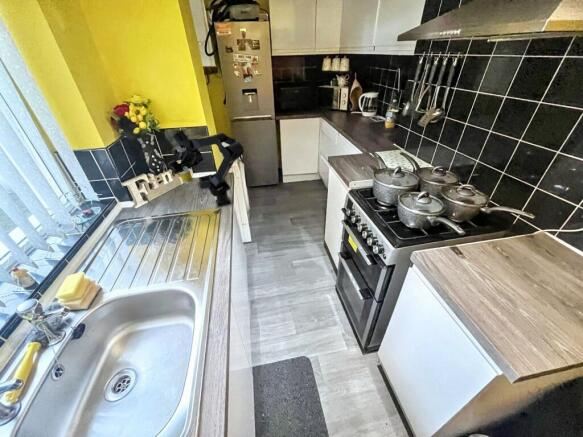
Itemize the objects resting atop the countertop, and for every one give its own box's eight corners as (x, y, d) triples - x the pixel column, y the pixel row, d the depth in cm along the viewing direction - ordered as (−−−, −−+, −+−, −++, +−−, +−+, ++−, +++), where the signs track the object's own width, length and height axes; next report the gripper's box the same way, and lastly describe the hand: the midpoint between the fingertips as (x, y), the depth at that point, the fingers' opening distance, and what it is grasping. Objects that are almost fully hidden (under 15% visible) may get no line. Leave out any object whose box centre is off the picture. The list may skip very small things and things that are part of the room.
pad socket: (216, 184, 147) (214, 179, 145) (202, 188, 144) (201, 182, 142) (213, 179, 153) (212, 174, 150) (200, 182, 150) (198, 177, 148)
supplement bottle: (183, 184, 136) (178, 168, 130) (182, 180, 140) (176, 164, 134) (193, 182, 138) (188, 166, 132) (192, 178, 142) (187, 162, 136)
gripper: (194, 136, 130) (187, 153, 141) (163, 147, 117) (157, 165, 129) (208, 153, 131) (199, 168, 142) (178, 166, 118) (172, 181, 130)
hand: (182, 170), depth 136 cm, fingers closed on supplement bottle, 5 cm apart
